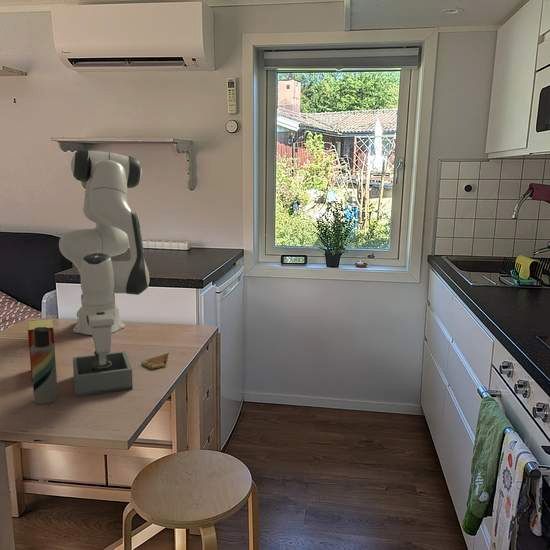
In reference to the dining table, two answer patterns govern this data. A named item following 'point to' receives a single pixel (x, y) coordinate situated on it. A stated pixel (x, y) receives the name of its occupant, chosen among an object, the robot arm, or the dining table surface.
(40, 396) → the lotion bottle
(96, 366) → the stone chess piece
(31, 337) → the baking soda box
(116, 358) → the box
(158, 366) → the shard
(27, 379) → the dining table surface
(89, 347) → the dining table surface
